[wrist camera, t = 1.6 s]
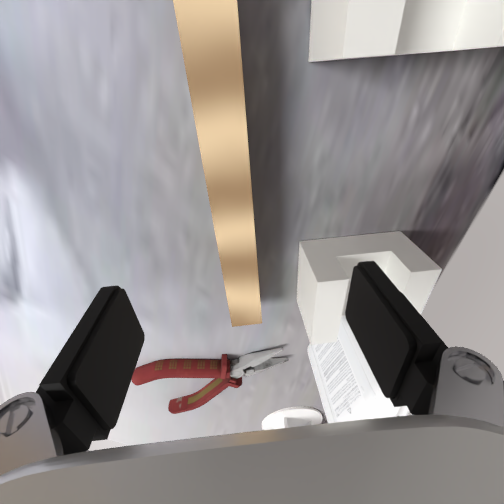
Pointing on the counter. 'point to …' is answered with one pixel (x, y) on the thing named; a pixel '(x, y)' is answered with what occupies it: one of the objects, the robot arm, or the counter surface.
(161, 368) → the pliers
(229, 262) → the slat
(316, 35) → the end caps
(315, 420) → the panda figurine
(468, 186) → the counter surface
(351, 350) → the photo printer
